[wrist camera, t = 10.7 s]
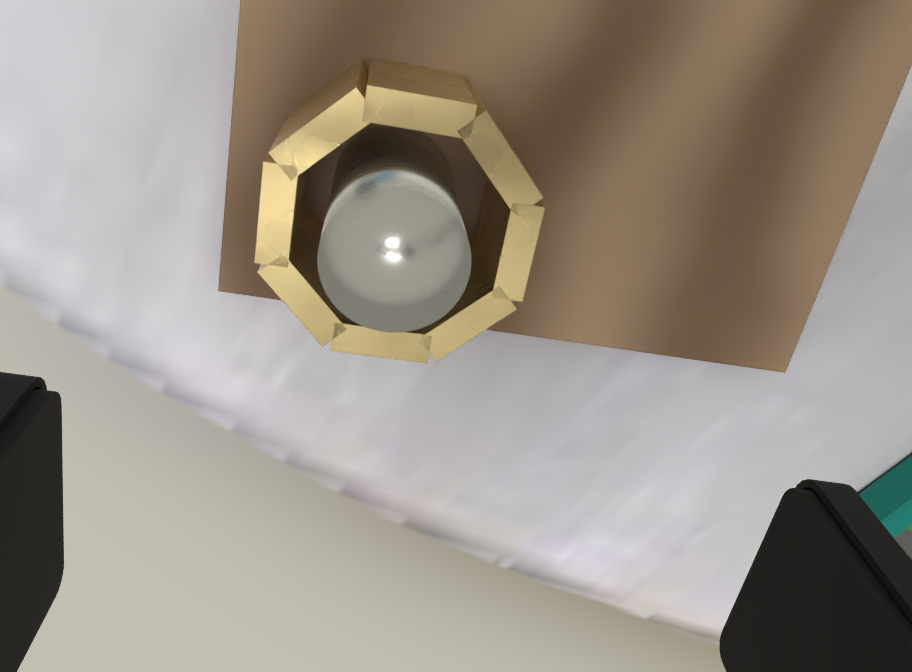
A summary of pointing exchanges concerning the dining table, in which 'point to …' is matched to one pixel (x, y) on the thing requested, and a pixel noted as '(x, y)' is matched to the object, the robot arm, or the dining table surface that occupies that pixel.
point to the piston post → (393, 233)
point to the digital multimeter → (894, 502)
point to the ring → (491, 243)
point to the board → (617, 148)
